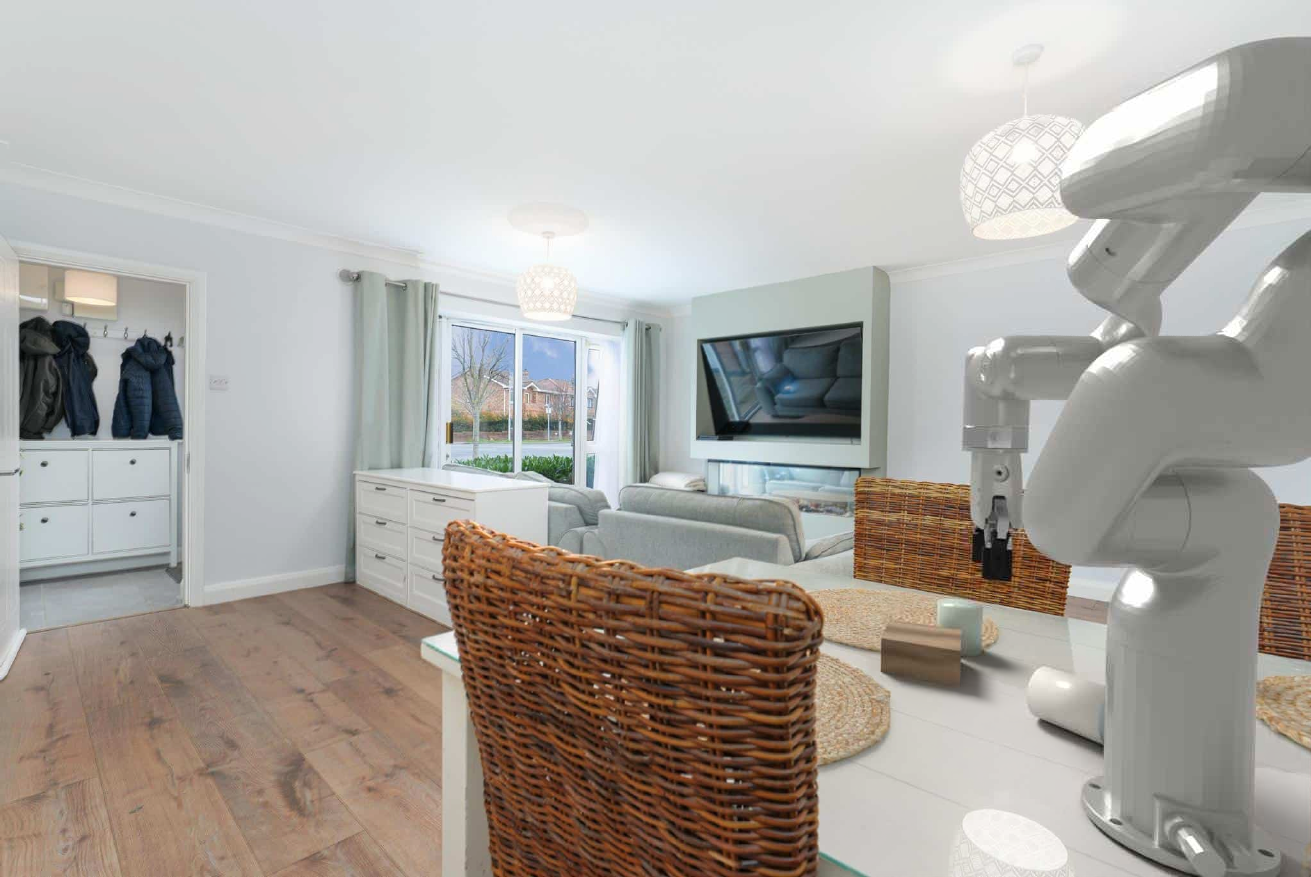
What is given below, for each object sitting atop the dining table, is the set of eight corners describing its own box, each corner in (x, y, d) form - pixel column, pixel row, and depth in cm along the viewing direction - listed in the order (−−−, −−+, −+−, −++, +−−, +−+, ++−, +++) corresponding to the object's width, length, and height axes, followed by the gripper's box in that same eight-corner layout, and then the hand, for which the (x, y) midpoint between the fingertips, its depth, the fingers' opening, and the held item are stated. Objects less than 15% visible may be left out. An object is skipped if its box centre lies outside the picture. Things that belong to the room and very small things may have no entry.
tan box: (959, 688, 80) (960, 650, 80) (880, 673, 85) (881, 638, 85) (960, 663, 89) (961, 630, 89) (888, 651, 94) (889, 619, 94)
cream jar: (1058, 712, 73) (1144, 746, 65) (1026, 723, 70) (1111, 760, 62) (1058, 661, 73) (1144, 689, 65) (1025, 670, 70) (1111, 700, 62)
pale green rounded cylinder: (984, 658, 91) (985, 612, 91) (937, 652, 93) (938, 607, 93) (978, 644, 97) (979, 601, 97) (935, 639, 99) (936, 596, 99)
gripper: (1044, 443, 69) (1038, 591, 69) (1014, 440, 85) (1010, 560, 85) (970, 441, 72) (965, 584, 72) (955, 438, 88) (952, 555, 88)
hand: (990, 571), depth 79 cm, fingers open, 9 cm apart
